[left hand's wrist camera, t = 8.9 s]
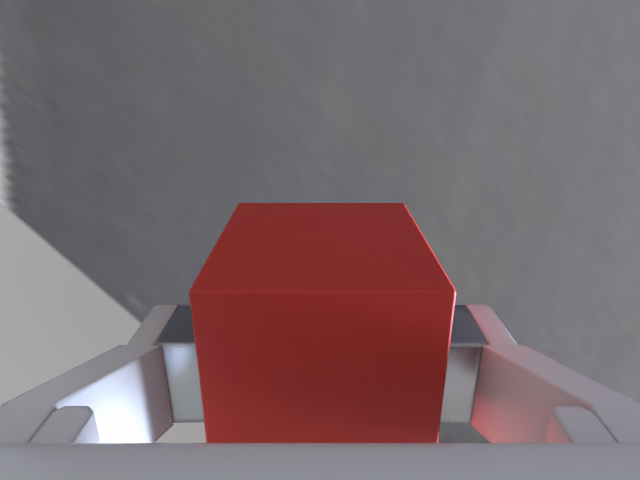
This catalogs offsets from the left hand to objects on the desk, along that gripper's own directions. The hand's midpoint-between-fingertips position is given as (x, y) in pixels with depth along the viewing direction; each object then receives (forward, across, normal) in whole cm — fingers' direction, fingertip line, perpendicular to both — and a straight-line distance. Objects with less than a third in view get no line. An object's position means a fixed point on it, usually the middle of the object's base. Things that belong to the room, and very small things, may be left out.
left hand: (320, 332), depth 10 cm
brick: (+2, 0, 0) cm, 2 cm away
